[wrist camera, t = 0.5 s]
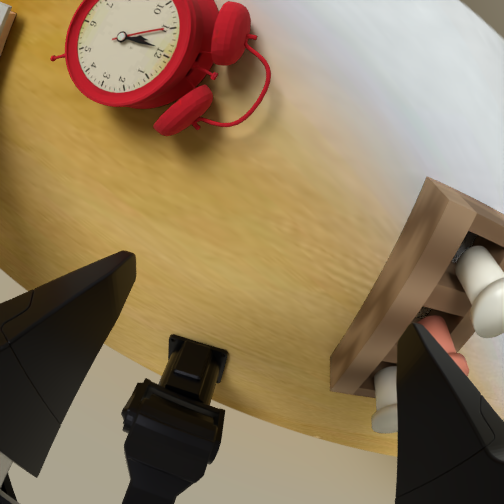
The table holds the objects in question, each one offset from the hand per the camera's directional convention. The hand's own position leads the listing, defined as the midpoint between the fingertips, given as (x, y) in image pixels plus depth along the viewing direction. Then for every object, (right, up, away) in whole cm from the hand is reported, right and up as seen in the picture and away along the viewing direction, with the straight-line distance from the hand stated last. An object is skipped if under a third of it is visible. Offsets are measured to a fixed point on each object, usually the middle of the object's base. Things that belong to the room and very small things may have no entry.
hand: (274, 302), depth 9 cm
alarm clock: (-6, +15, +8) cm, 18 cm away
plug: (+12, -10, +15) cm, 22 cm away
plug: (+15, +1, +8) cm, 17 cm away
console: (+14, -2, +15) cm, 21 cm away
